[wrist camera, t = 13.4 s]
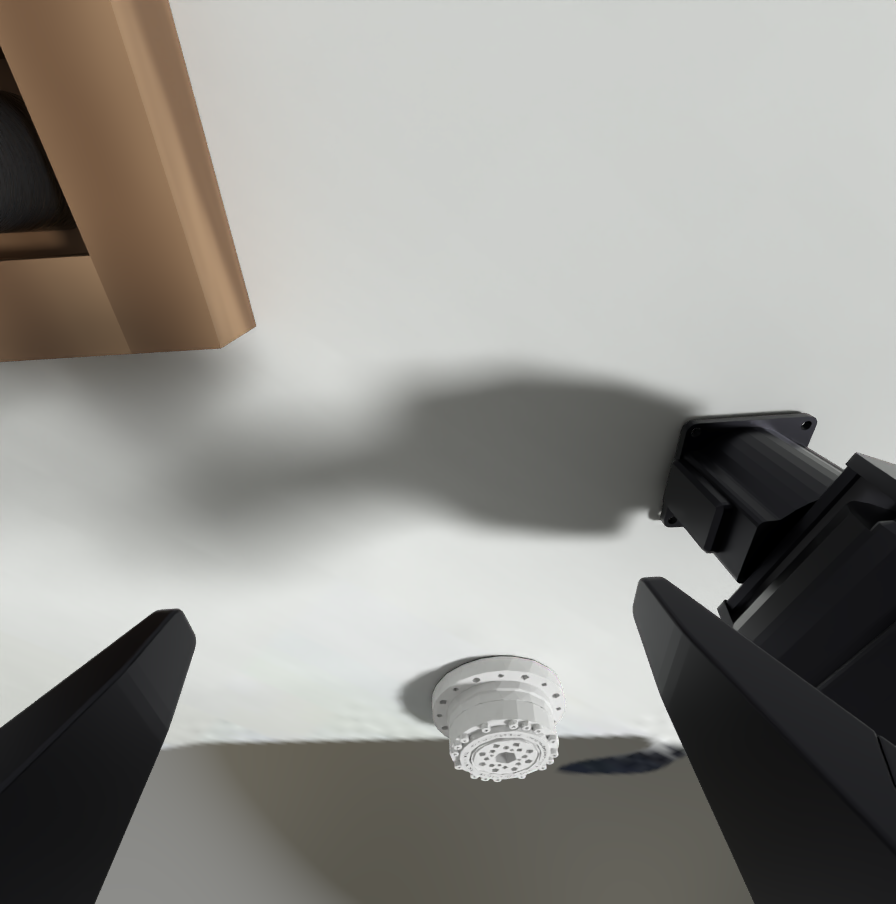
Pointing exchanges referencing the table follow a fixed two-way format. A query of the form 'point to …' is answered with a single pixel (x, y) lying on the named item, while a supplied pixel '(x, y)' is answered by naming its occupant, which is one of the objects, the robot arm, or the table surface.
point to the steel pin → (27, 175)
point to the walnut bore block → (115, 190)
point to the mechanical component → (500, 716)
